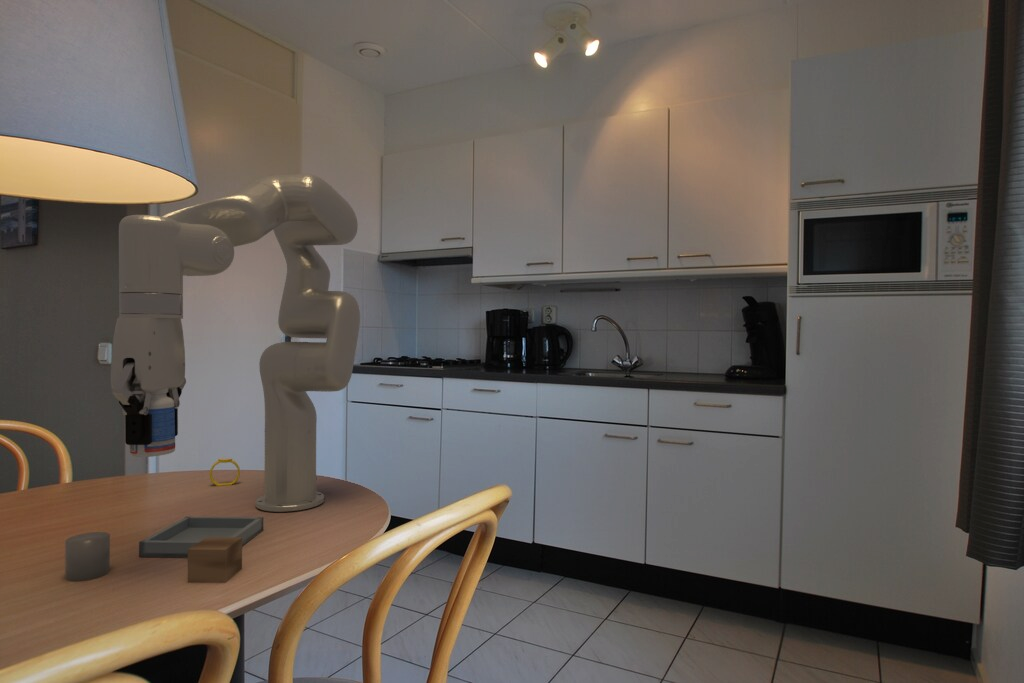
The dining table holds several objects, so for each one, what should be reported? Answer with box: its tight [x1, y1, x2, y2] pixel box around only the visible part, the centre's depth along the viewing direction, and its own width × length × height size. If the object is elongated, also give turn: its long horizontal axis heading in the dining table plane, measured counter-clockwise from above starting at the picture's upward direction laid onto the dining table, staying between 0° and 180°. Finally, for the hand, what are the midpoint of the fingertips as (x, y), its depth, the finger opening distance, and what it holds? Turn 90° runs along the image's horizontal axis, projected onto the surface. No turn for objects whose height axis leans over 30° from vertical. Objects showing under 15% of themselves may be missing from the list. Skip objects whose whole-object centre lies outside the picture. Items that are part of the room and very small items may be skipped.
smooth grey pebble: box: [64, 531, 111, 583], centre depth 83 cm, size 5×5×5 cm
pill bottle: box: [129, 387, 176, 458], centre depth 84 cm, size 6×5×10 cm
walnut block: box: [187, 537, 243, 584], centre depth 83 cm, size 5×5×4 cm
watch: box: [209, 456, 241, 487], centre depth 134 cm, size 6×3×6 cm, turn 114°
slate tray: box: [138, 516, 264, 559], centre depth 96 cm, size 13×13×2 cm
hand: (152, 438), depth 84 cm, fingers closed on pill bottle, 5 cm apart
